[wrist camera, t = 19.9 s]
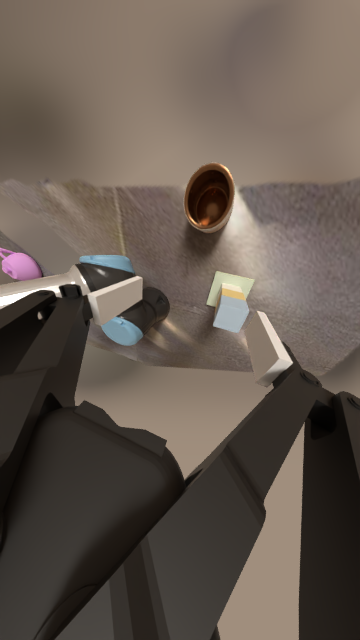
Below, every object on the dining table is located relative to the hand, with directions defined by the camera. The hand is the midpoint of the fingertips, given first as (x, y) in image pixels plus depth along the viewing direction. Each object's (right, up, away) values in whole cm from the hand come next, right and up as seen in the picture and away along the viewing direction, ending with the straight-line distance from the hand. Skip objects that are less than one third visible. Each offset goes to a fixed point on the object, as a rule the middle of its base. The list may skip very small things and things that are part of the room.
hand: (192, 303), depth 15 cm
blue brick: (+12, +1, +19) cm, 22 cm away
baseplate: (+15, +8, +30) cm, 34 cm away
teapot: (-80, +26, +54) cm, 100 cm away
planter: (+7, +29, +20) cm, 36 cm away
